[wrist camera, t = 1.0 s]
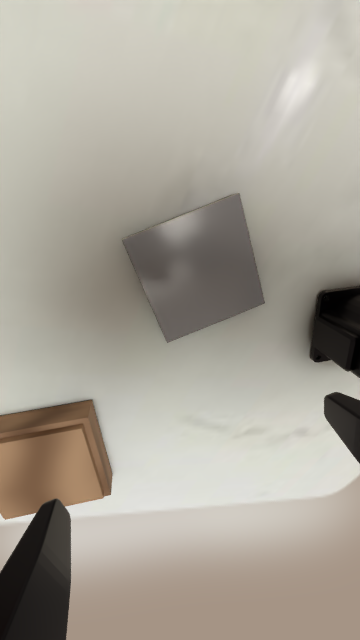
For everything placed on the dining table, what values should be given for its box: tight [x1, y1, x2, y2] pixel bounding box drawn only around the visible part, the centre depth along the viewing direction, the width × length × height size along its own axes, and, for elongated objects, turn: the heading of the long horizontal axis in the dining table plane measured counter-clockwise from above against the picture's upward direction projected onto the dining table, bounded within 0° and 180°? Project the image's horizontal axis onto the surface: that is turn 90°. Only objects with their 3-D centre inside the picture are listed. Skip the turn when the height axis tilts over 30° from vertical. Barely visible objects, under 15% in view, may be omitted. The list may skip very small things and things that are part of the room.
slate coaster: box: [122, 193, 265, 343], centre depth 19 cm, size 8×8×1 cm
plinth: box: [0, 400, 112, 520], centre depth 22 cm, size 9×9×2 cm
